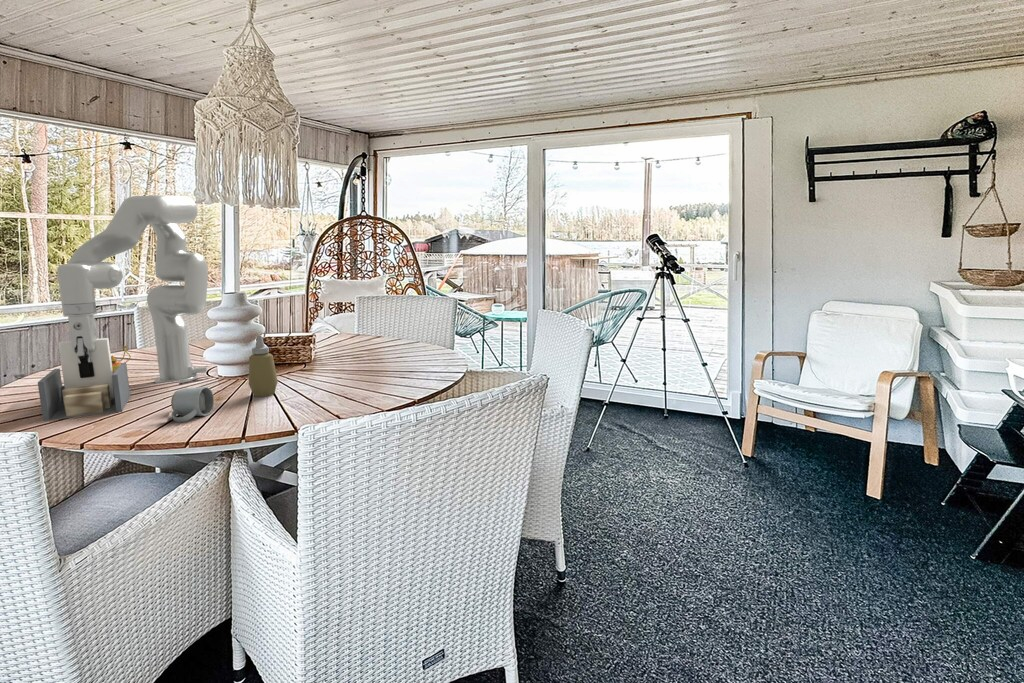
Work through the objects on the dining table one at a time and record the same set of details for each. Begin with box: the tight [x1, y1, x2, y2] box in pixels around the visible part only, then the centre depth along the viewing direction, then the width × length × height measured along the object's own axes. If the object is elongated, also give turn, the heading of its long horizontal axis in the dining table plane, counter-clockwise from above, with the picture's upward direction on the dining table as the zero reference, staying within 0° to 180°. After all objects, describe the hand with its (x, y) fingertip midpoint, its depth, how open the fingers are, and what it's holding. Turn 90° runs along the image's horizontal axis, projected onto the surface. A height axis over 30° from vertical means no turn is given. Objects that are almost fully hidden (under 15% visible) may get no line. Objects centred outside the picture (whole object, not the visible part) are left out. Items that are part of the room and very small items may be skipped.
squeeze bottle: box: [248, 334, 279, 398], centre depth 182 cm, size 8×8×18 cm
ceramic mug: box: [170, 386, 215, 423], centre depth 161 cm, size 11×8×8 cm
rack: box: [37, 362, 131, 422], centre depth 166 cm, size 17×18×12 cm
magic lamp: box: [111, 344, 132, 373], centre depth 211 cm, size 7×18×11 cm, turn 88°
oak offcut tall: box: [62, 384, 112, 413], centre depth 165 cm, size 10×3×6 cm, turn 115°
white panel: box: [57, 337, 115, 398], centre depth 168 cm, size 11×3×18 cm, turn 115°
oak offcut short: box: [64, 391, 105, 416], centre depth 161 cm, size 8×3×5 cm, turn 115°
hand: (88, 375), depth 169 cm, fingers closed on white panel, 3 cm apart
